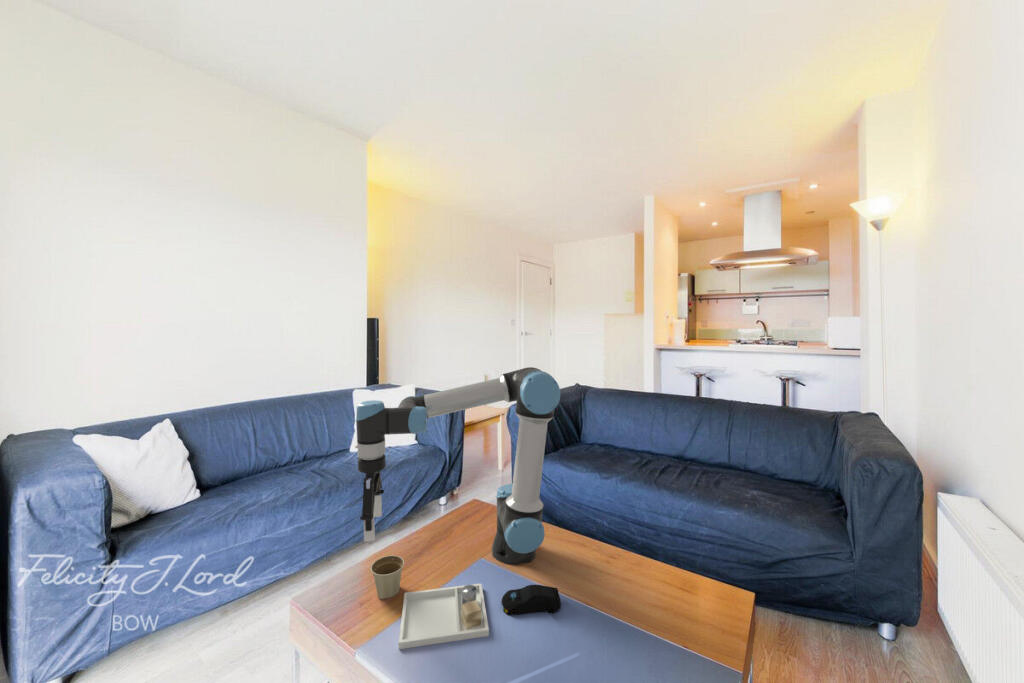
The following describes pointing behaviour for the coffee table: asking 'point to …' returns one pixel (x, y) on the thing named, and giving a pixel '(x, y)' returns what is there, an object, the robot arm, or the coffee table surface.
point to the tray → (438, 617)
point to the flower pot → (387, 575)
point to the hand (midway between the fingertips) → (373, 527)
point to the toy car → (531, 600)
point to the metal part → (468, 594)
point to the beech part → (471, 614)
